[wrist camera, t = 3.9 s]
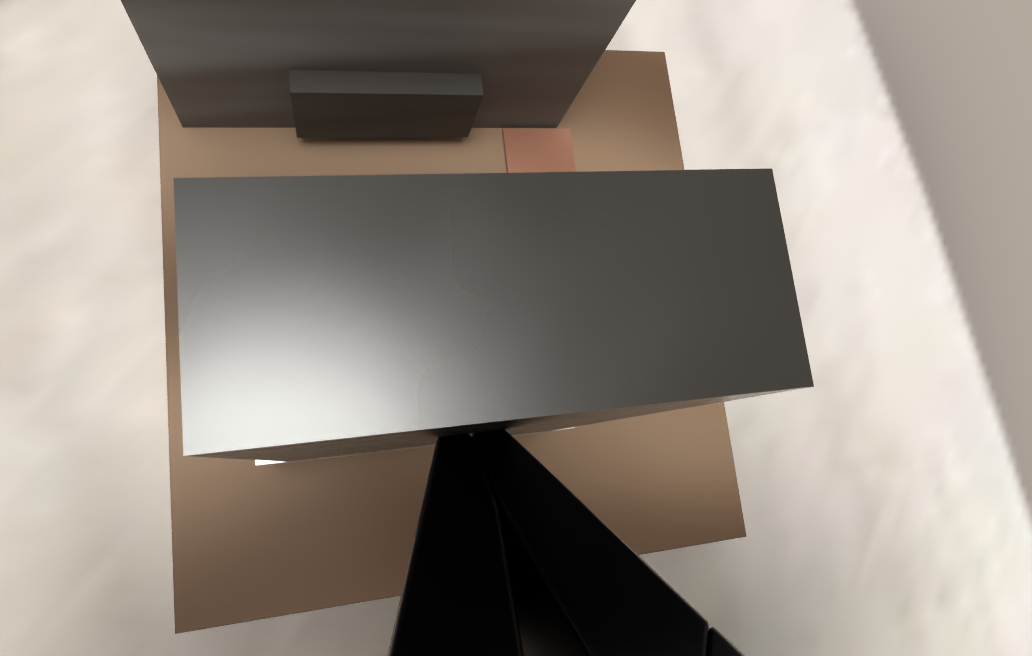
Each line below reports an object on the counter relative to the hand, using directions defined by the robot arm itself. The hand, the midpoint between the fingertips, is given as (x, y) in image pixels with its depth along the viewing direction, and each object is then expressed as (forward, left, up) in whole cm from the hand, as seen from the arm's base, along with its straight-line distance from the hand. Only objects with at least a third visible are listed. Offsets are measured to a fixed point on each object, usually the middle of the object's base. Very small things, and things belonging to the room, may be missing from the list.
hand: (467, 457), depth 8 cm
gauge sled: (+3, -1, -7) cm, 8 cm away
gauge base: (+4, -2, -9) cm, 10 cm away
